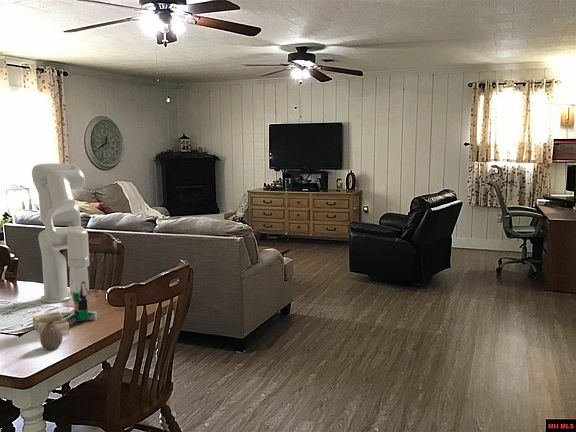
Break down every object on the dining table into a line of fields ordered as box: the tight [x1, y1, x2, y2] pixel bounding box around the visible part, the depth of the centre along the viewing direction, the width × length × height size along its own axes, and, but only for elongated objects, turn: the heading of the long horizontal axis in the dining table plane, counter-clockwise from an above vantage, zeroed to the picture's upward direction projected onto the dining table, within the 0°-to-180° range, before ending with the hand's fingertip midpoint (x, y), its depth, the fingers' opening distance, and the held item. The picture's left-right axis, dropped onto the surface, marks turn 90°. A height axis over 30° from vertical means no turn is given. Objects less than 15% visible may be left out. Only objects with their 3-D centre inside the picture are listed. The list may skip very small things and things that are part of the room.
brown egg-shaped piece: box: [39, 322, 64, 351], centre depth 171 cm, size 7×7×9 cm
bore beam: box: [32, 311, 70, 336], centre depth 188 cm, size 16×9×4 cm, turn 37°
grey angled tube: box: [65, 309, 98, 326], centre depth 199 cm, size 8×12×3 cm
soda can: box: [72, 291, 89, 321], centre depth 196 cm, size 5×5×12 cm
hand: (80, 307), depth 196 cm, fingers closed on soda can, 4 cm apart
